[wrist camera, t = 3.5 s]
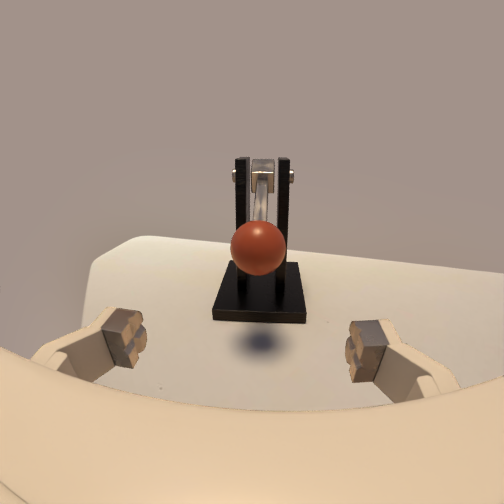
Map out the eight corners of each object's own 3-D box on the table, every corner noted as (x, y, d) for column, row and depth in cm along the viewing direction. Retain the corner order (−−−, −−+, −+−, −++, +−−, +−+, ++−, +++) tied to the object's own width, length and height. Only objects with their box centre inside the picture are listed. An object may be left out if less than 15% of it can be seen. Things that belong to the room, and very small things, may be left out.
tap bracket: (305, 323, 26) (318, 163, 21) (212, 319, 27) (204, 161, 21) (297, 270, 37) (302, 157, 32) (230, 268, 38) (227, 155, 32)
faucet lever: (284, 287, 20) (288, 249, 17) (229, 285, 21) (224, 247, 18) (282, 185, 30) (283, 152, 27) (245, 184, 30) (243, 151, 27)
